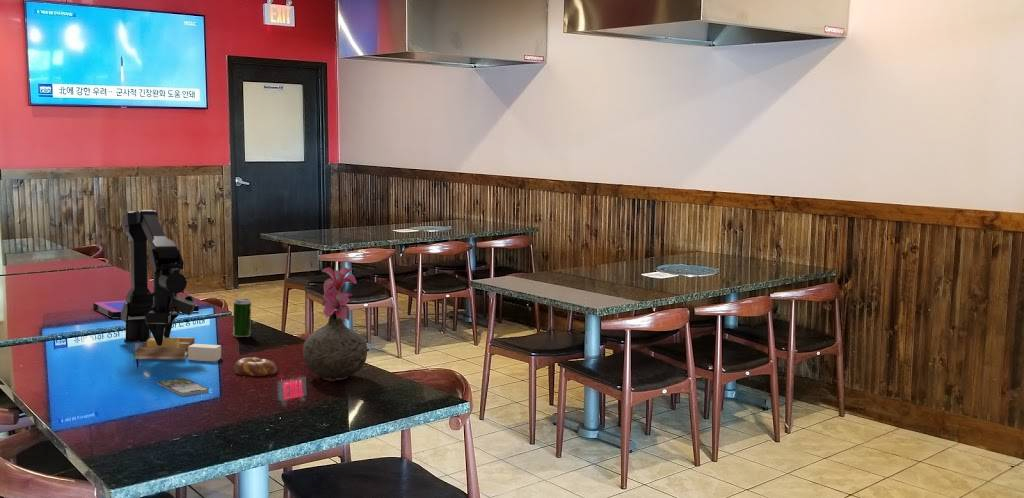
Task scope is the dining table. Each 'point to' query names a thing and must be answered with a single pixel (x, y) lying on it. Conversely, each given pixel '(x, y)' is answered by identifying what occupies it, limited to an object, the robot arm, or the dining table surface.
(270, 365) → the pretzel
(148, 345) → the ochre bar
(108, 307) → the book
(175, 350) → the comb board
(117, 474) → the dining table surface
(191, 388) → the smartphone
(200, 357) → the cream bar
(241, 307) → the beer can
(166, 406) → the dining table surface
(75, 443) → the dining table surface
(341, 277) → the vase
